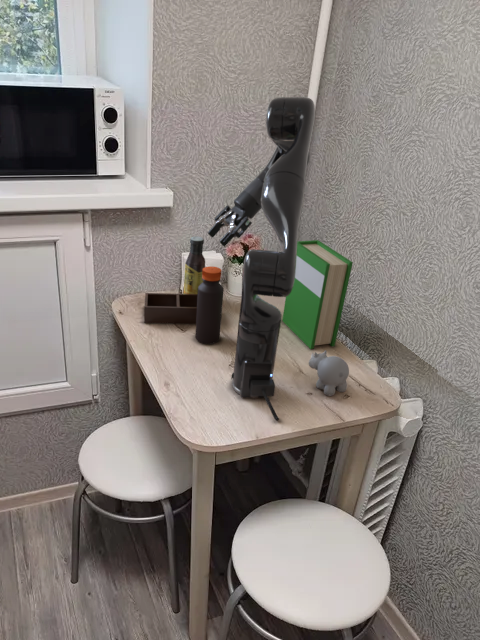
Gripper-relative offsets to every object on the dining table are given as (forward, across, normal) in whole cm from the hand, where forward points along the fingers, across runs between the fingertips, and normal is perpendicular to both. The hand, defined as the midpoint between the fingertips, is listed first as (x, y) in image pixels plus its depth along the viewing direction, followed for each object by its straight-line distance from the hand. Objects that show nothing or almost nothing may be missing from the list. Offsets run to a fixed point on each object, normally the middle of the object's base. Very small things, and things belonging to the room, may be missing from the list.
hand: (215, 239), depth 158 cm
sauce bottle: (+18, 0, +9) cm, 20 cm away
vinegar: (+22, +26, +4) cm, 34 cm away
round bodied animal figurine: (+10, +56, +17) cm, 59 cm away
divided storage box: (+24, +10, +2) cm, 26 cm away
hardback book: (+2, +31, +25) cm, 40 cm away
